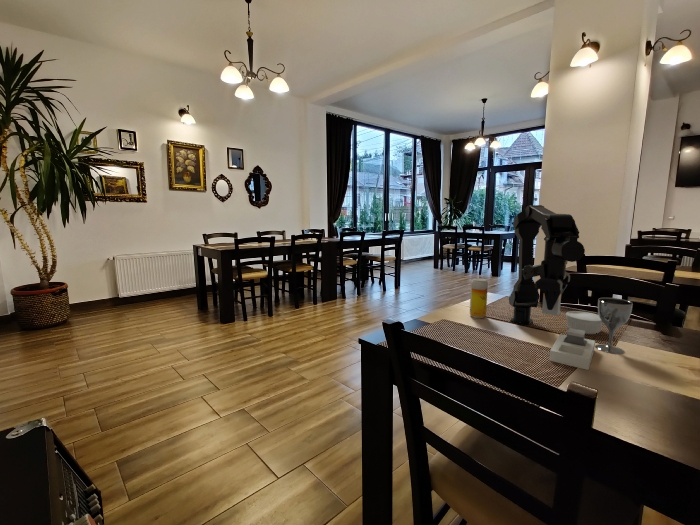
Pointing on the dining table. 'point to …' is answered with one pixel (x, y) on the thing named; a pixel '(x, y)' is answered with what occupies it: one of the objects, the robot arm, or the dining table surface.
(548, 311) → the plug
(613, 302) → the wine glass
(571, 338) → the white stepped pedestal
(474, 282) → the yellow bottle
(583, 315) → the ramekin
